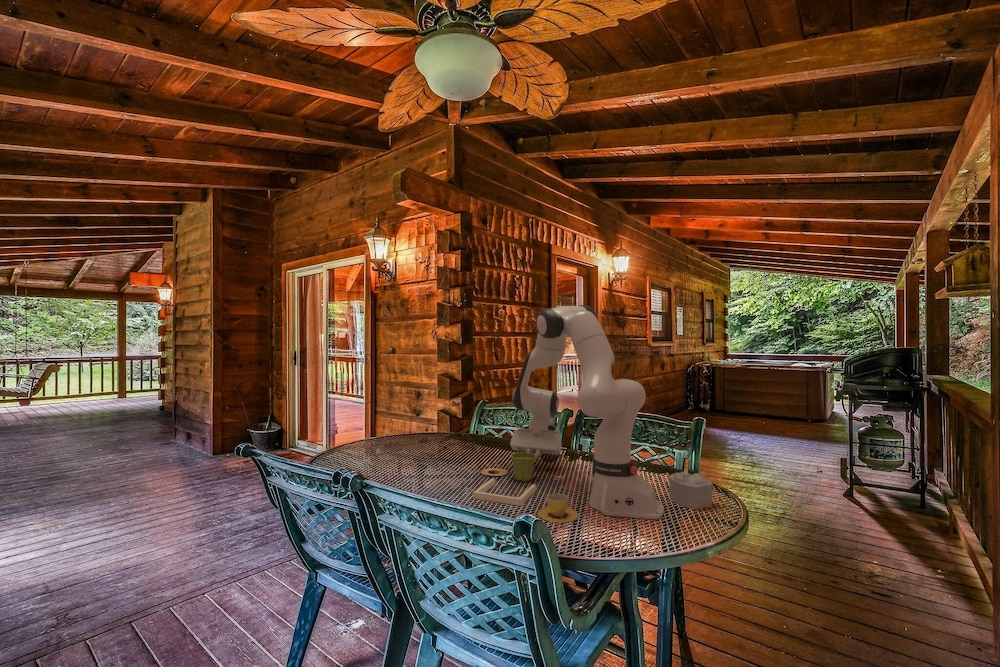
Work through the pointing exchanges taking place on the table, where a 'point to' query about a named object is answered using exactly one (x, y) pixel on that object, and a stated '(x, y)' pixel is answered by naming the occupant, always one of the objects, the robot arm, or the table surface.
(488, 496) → the frame
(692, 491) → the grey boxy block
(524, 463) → the plant pot
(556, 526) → the table surface
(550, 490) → the table surface
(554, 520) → the cup
